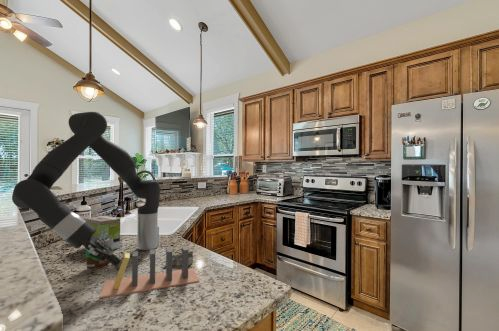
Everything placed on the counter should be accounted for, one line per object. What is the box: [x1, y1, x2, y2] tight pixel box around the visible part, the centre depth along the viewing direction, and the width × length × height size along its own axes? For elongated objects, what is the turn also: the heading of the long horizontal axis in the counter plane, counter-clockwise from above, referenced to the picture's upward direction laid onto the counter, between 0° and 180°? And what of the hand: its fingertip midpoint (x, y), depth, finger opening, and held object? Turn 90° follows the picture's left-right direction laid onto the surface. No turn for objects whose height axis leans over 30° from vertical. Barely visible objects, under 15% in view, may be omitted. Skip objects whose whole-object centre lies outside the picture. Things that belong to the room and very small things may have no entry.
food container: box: [83, 236, 114, 270], centre depth 103 cm, size 12×6×10 cm, turn 168°
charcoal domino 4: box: [181, 245, 189, 279], centre depth 92 cm, size 2×5×10 cm, turn 23°
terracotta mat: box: [99, 267, 200, 299], centre depth 87 cm, size 30×12×1 cm, turn 113°
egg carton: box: [172, 250, 194, 267], centre depth 105 cm, size 11×8×4 cm
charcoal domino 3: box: [165, 247, 173, 281], centre depth 90 cm, size 2×5×10 cm, turn 23°
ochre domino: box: [113, 252, 131, 289], centre depth 84 cm, size 2×5×10 cm, turn 23°
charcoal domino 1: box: [131, 250, 139, 287], centre depth 85 cm, size 2×5×10 cm, turn 23°
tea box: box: [85, 215, 121, 251], centre depth 124 cm, size 15×10×15 cm, turn 58°
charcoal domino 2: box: [149, 248, 156, 284], centre depth 87 cm, size 2×5×10 cm, turn 22°
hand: (118, 263), depth 84 cm, fingers closed
